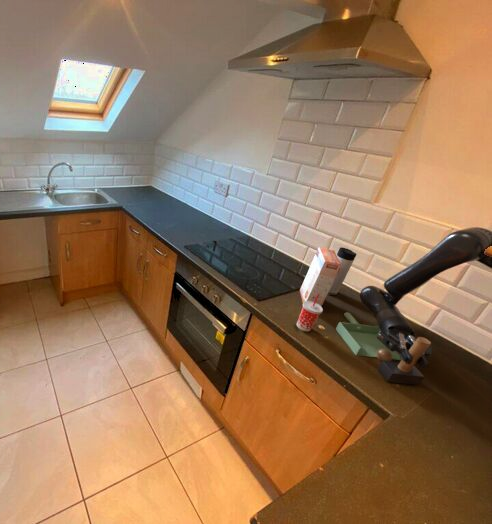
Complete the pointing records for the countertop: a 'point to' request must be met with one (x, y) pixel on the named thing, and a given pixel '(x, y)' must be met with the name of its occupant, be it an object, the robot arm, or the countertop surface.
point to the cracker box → (320, 276)
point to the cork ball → (384, 355)
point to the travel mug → (342, 268)
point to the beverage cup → (309, 315)
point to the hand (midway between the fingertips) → (417, 363)
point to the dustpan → (362, 338)
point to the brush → (405, 365)
